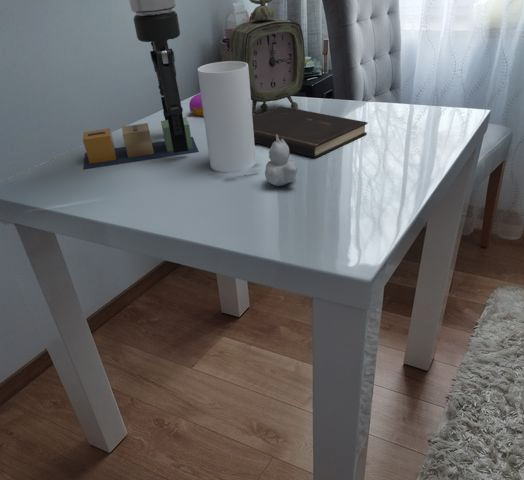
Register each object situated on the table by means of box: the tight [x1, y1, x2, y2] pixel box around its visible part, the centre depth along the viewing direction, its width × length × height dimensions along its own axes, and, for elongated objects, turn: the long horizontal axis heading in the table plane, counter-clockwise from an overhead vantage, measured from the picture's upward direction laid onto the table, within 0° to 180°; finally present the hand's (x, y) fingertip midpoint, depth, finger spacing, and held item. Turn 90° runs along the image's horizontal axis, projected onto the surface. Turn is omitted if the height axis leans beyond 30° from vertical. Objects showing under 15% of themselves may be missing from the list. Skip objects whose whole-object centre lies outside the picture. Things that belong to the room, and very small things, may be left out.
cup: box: [197, 60, 257, 173], centre depth 86 cm, size 8×8×16 cm
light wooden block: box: [121, 122, 154, 158], centre depth 98 cm, size 5×5×5 cm
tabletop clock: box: [228, 0, 306, 117], centre depth 108 cm, size 14×9×25 cm, turn 118°
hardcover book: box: [252, 105, 369, 159], centre depth 101 cm, size 16×23×2 cm
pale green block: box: [160, 117, 193, 152], centre depth 99 cm, size 5×5×5 cm
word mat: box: [82, 136, 200, 171], centre depth 100 cm, size 22×10×1 cm, turn 103°
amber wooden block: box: [82, 128, 116, 164], centre depth 97 cm, size 5×5×5 cm
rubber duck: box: [264, 134, 298, 187], centre depth 81 cm, size 5×7×8 cm
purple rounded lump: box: [189, 93, 204, 117], centre depth 117 cm, size 10×10×5 cm
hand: (177, 140), depth 100 cm, fingers open, 13 cm apart
